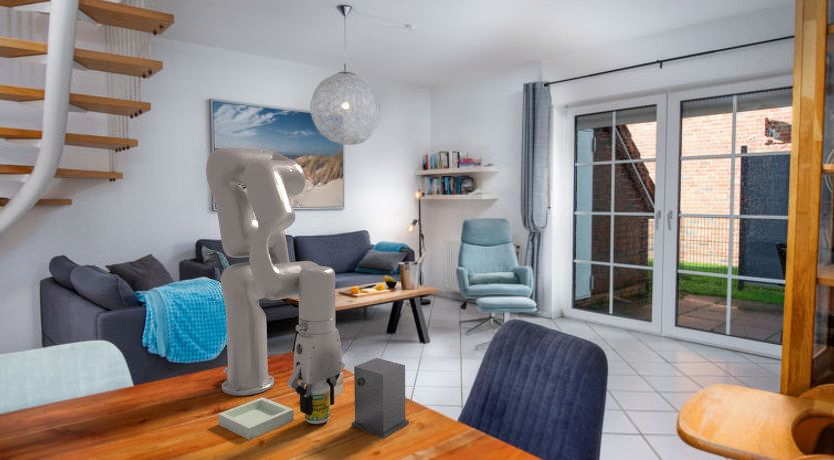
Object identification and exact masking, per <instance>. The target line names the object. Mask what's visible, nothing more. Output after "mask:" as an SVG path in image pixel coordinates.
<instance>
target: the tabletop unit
mask: <svg viewBox="0 0 834 460" xmlns="http://www.w3.org/2000/svg"><path fill="white" fill-rule="evenodd" d="M353 371H354V374H353V375H354V376H353V377H354V379H353V380H354V421H351V427H353V428H355V429H357V430H360V431H364V432H366V433H368V434H371V435H374V436H376V437H379V438H382V439H386V438H387V437H389V436H391V435H393V434H394V433H396V432H398V431H399V430H401V429H404V428H405V427H406V426H408V425H410V420H409V419H406V365H405V364H401V363H398V362H395V361H391V360H386V359H384V358H383V359H382V358H380V357H375V358H372V359H370V360H368V361H365V362H362V363H360V364H357V365H355V366H354V368H353Z"/></svg>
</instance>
